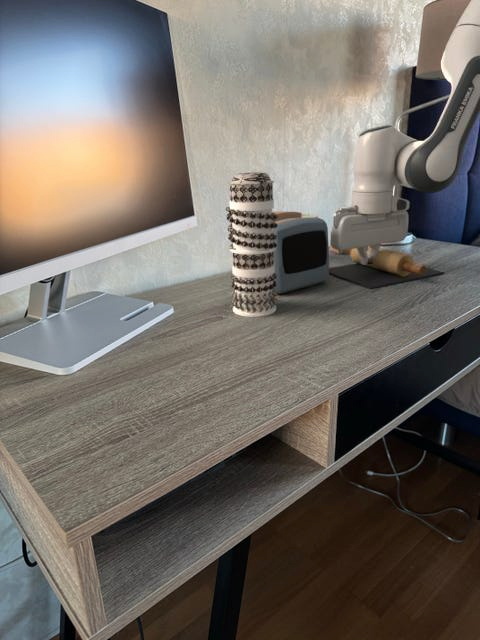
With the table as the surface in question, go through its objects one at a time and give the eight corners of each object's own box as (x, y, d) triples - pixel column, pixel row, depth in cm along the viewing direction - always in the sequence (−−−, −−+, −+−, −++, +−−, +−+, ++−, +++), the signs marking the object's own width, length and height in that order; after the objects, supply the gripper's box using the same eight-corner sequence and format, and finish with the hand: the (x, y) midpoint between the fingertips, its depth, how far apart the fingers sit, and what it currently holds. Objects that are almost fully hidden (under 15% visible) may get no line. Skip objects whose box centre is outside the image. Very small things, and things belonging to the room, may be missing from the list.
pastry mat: (388, 259, 119) (388, 257, 118) (444, 273, 103) (444, 272, 103) (320, 271, 110) (320, 269, 110) (370, 289, 95) (370, 287, 95)
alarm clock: (277, 298, 92) (277, 219, 86) (232, 281, 104) (229, 212, 98) (332, 282, 100) (335, 210, 95) (285, 269, 113) (284, 205, 107)
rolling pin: (352, 257, 120) (353, 239, 118) (430, 280, 98) (432, 257, 96) (337, 260, 118) (338, 241, 116) (413, 283, 96) (415, 260, 94)
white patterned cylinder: (222, 307, 87) (214, 174, 78) (261, 298, 91) (259, 171, 82) (245, 321, 80) (240, 175, 71) (287, 311, 84) (288, 172, 75)
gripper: (343, 209, 93) (340, 273, 98) (415, 201, 102) (409, 260, 107) (325, 207, 99) (323, 267, 104) (395, 199, 107) (390, 255, 112)
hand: (367, 263), depth 105 cm, fingers closed
